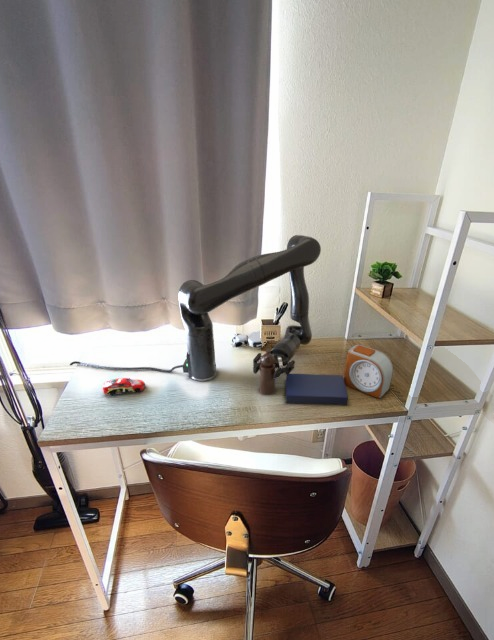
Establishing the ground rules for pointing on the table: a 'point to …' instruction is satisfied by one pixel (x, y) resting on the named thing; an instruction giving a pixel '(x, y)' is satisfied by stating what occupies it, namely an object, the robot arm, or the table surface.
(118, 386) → the race car
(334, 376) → the book
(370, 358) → the alarm clock
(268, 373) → the pepper mill
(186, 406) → the table surface
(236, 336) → the robot toy
